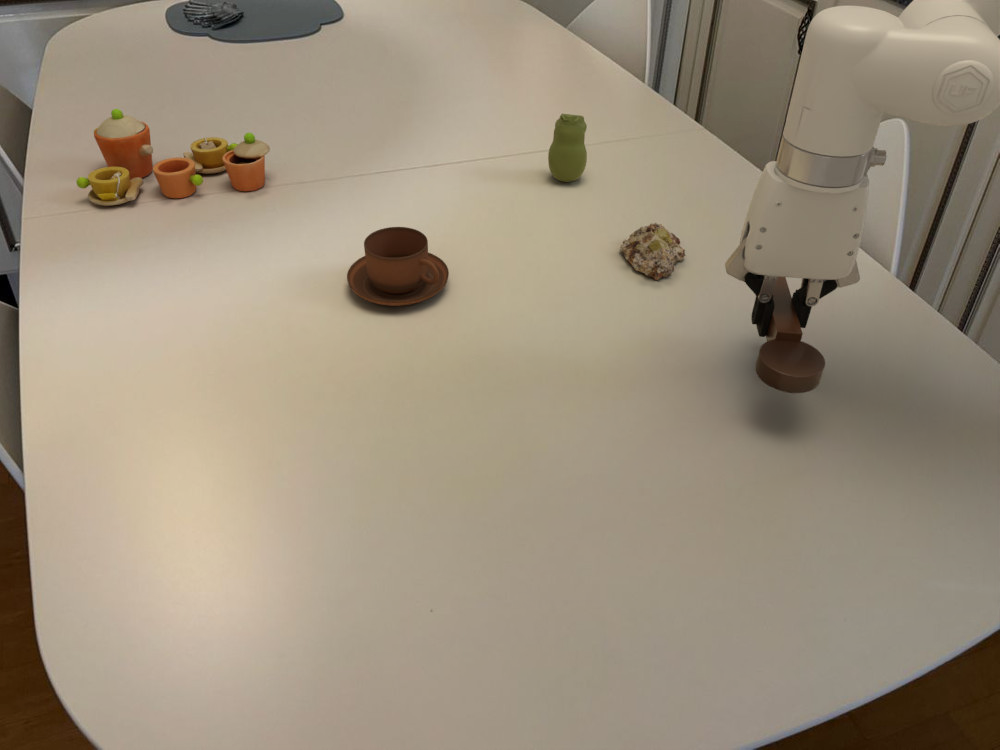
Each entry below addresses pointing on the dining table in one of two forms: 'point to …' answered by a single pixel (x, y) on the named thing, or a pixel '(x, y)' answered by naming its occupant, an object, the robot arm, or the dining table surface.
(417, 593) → the dining table surface
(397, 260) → the cup and saucer
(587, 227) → the dining table surface
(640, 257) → the mineral rock
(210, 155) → the toy tea set
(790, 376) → the brown handled disc
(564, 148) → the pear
